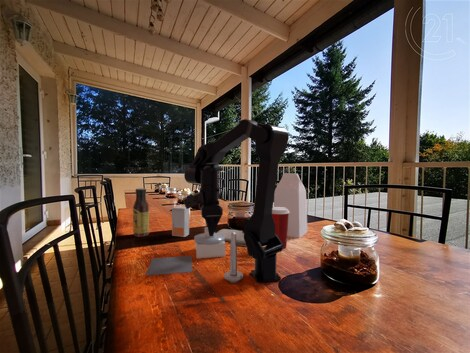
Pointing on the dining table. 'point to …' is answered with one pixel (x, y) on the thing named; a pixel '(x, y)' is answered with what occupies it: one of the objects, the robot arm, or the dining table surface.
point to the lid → (209, 238)
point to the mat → (170, 265)
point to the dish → (210, 250)
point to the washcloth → (239, 236)
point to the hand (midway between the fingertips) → (209, 232)
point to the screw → (233, 262)
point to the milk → (292, 203)
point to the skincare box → (180, 221)
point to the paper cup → (281, 223)
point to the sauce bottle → (141, 214)
